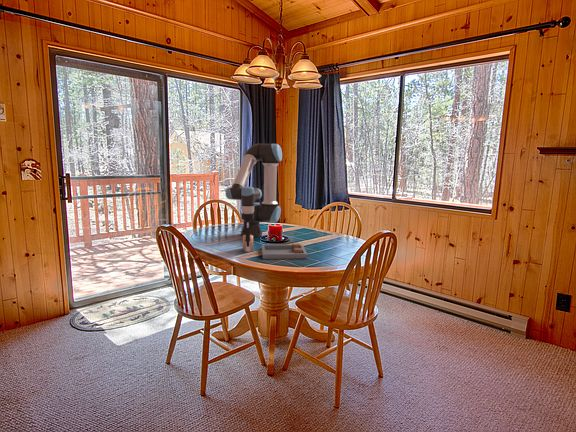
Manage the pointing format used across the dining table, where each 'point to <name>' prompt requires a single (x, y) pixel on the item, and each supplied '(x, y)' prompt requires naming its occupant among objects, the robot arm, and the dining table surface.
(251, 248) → the tan u-shaped piece
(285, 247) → the tray
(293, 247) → the cube
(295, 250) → the cube
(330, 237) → the dining table surface
